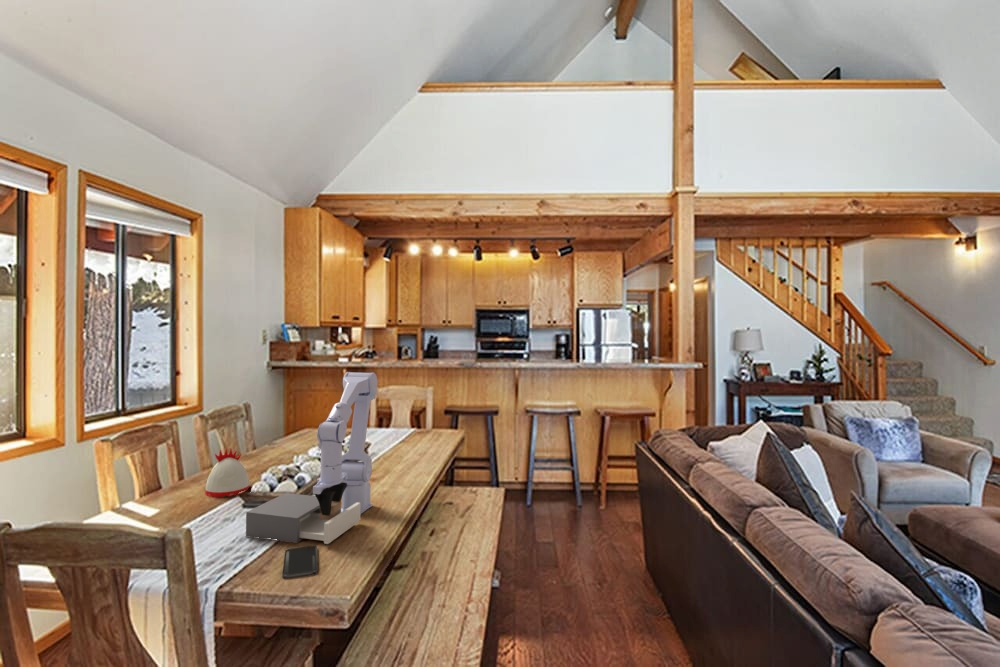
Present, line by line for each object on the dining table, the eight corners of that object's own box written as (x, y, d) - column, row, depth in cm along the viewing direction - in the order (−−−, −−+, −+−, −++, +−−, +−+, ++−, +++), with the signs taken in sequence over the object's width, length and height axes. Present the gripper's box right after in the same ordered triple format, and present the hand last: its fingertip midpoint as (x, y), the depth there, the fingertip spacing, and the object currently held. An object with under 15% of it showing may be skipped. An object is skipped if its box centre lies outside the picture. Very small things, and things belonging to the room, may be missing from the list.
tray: (360, 520, 151) (360, 502, 151) (328, 544, 134) (328, 523, 134) (312, 515, 155) (313, 497, 155) (275, 537, 138) (276, 517, 138)
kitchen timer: (205, 487, 182) (206, 446, 181) (248, 482, 188) (249, 442, 188) (205, 499, 169) (205, 454, 169) (250, 493, 176) (251, 450, 176)
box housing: (331, 520, 153) (332, 497, 153) (296, 543, 137) (297, 518, 137) (285, 514, 157) (285, 493, 157) (245, 536, 140) (246, 512, 140)
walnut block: (340, 515, 145) (341, 501, 145) (333, 520, 141) (333, 506, 141) (328, 514, 146) (328, 500, 146) (320, 519, 142) (320, 504, 142)
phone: (282, 576, 117) (285, 549, 131) (281, 581, 117) (285, 553, 131) (318, 571, 120) (317, 545, 134) (318, 575, 120) (317, 549, 134)
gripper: (332, 456, 152) (332, 502, 152) (303, 469, 138) (302, 519, 138) (354, 458, 150) (353, 504, 150) (326, 471, 136) (325, 522, 136)
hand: (330, 511), depth 144 cm, fingers closed on walnut block, 4 cm apart
